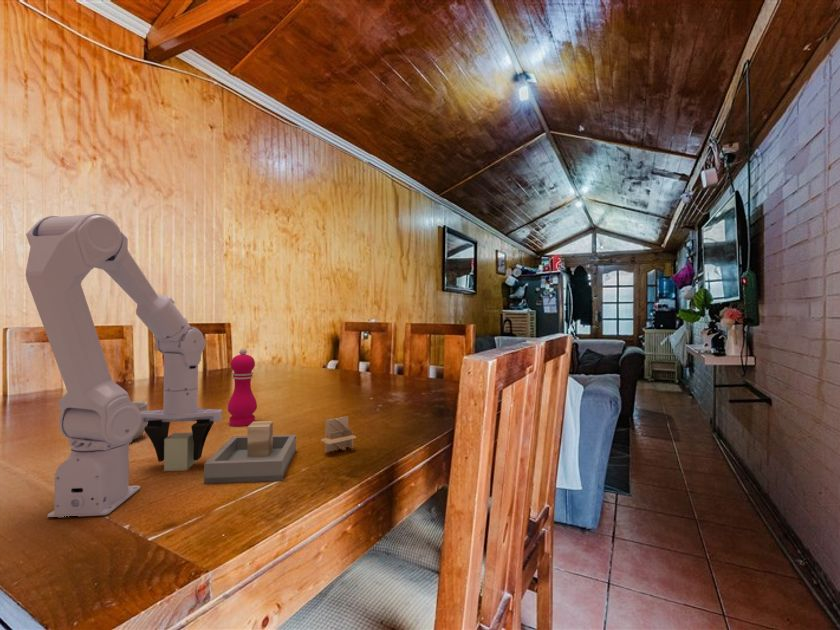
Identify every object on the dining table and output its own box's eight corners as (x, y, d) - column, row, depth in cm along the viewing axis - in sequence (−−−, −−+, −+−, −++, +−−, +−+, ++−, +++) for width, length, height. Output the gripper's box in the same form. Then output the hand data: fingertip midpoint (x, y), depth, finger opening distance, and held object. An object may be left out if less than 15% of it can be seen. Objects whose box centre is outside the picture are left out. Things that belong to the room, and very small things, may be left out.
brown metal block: (268, 456, 83) (268, 426, 83) (247, 456, 83) (247, 426, 83) (272, 449, 87) (273, 421, 87) (252, 450, 87) (253, 421, 86)
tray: (281, 480, 74) (281, 461, 74) (203, 483, 72) (204, 463, 72) (295, 450, 90) (295, 434, 90) (232, 452, 88) (232, 436, 88)
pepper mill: (227, 421, 113) (228, 347, 112) (255, 418, 116) (256, 347, 116) (227, 428, 106) (228, 350, 106) (257, 425, 109) (258, 349, 109)
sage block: (186, 470, 78) (187, 438, 78) (164, 471, 77) (164, 439, 77) (195, 462, 82) (195, 432, 82) (173, 463, 81) (173, 432, 81)
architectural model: (356, 453, 90) (357, 419, 90) (328, 460, 85) (328, 424, 85) (348, 449, 93) (348, 416, 93) (320, 456, 88) (320, 421, 88)
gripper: (227, 384, 85) (226, 450, 85) (150, 385, 83) (149, 453, 83) (215, 391, 78) (214, 463, 78) (131, 392, 76) (130, 466, 76)
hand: (180, 459), depth 80 cm, fingers open, 6 cm apart
